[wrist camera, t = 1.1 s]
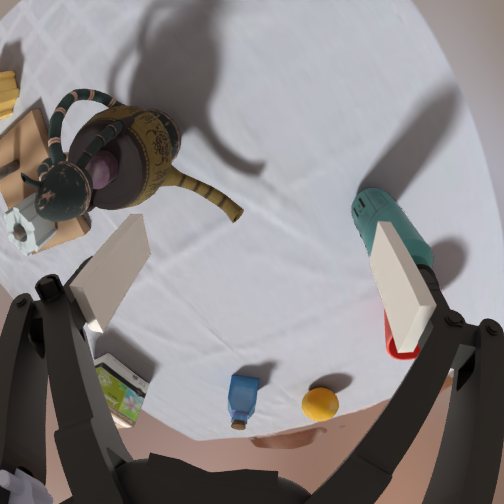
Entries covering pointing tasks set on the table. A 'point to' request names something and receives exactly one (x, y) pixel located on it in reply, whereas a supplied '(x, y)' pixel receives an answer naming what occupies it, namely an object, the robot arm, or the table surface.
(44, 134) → the gear board
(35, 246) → the pale grey gear
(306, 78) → the table surface
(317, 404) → the fruit
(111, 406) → the tea box
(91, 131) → the teapot
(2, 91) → the ochre gear
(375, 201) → the beverage bottle
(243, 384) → the perfume bottle
